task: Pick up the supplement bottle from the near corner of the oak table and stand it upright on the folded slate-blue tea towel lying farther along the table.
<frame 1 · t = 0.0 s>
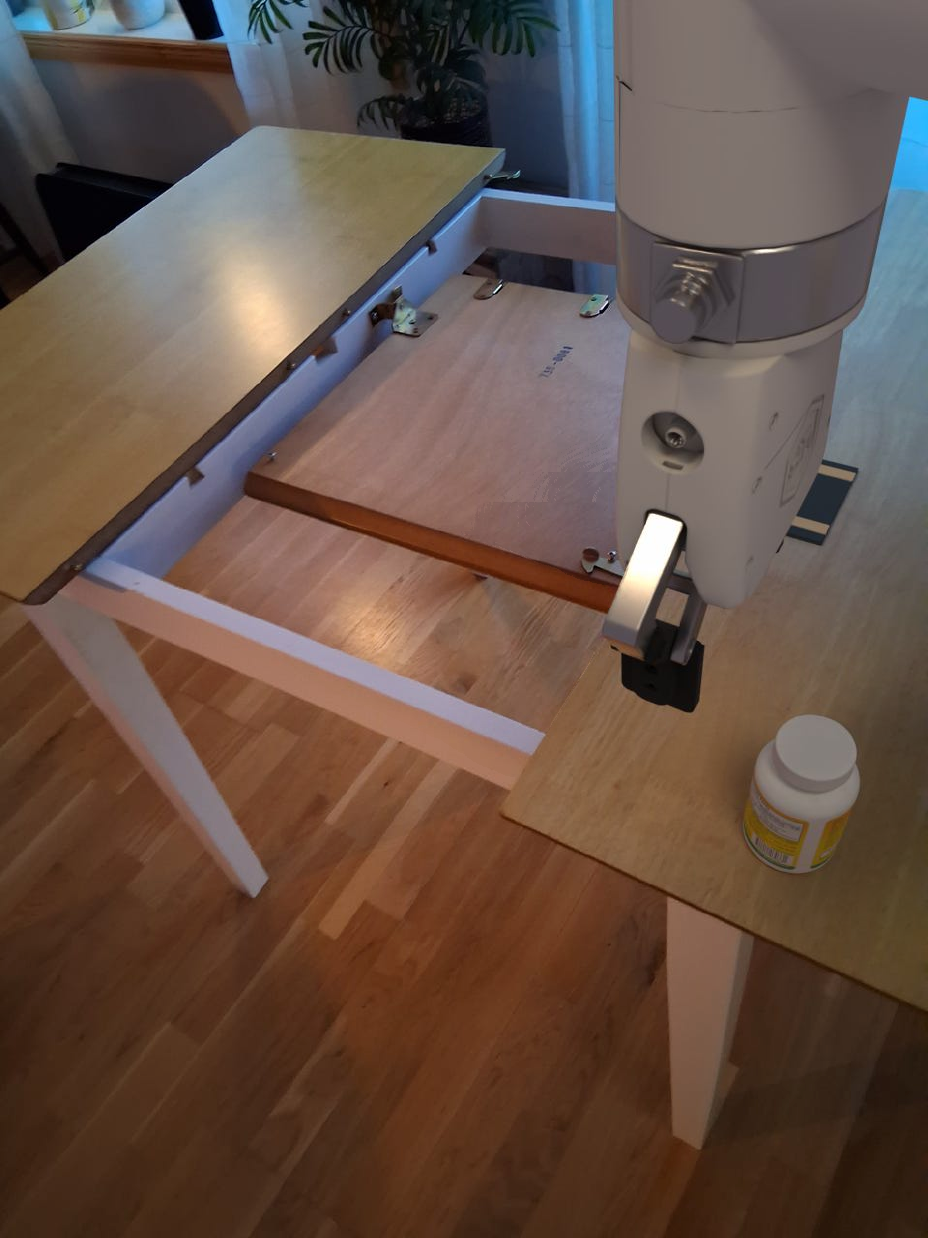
hand: (705, 614, 41), 20 cm above the table, tool pointing down, fingers open, 9 cm apart
supplement bottle: (789, 835, 55), on the table
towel: (801, 497, 72), on the table
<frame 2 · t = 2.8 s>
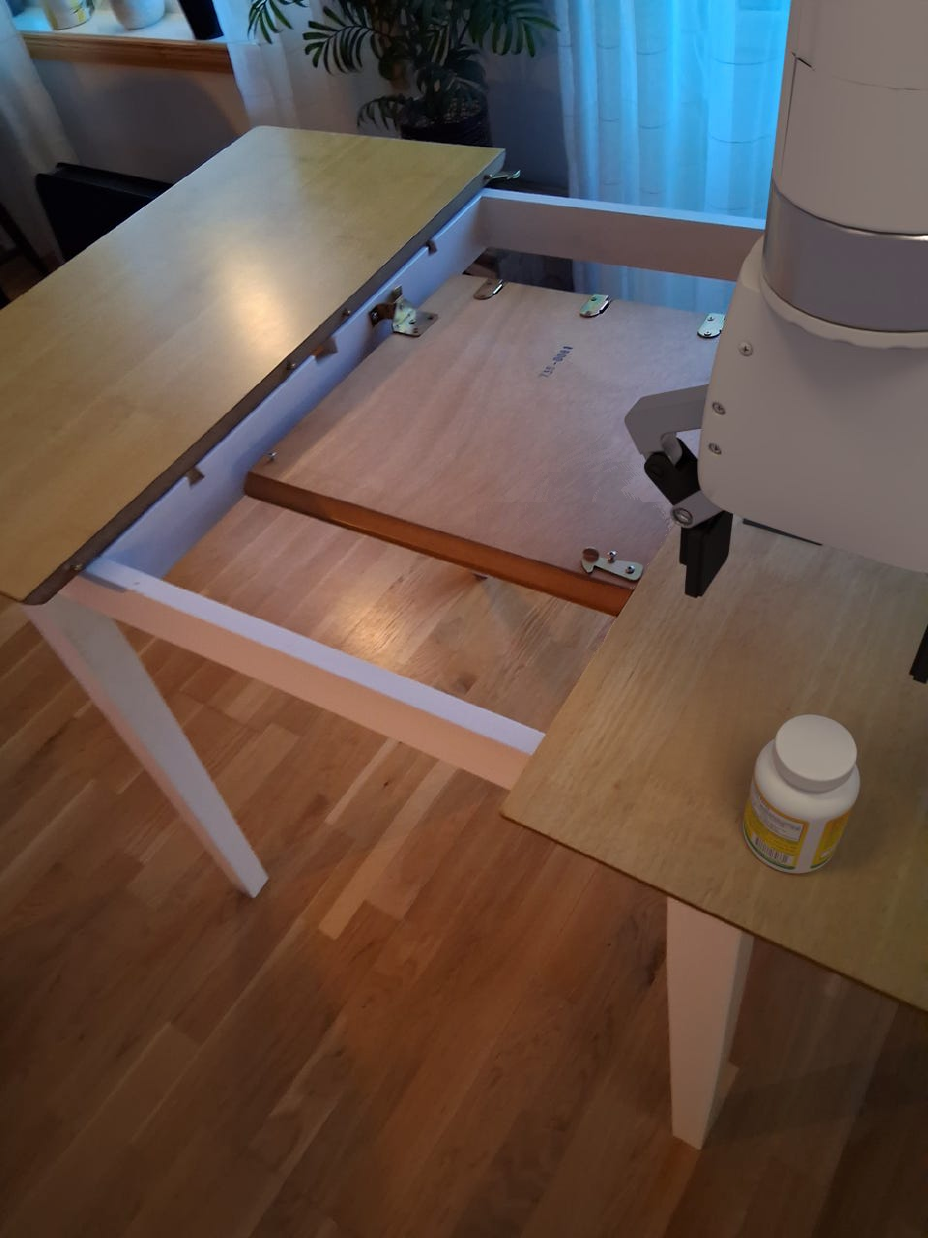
hand: (811, 614, 40), 20 cm above the table, tool pointing down, fingers open, 9 cm apart
nothing on the table moved.
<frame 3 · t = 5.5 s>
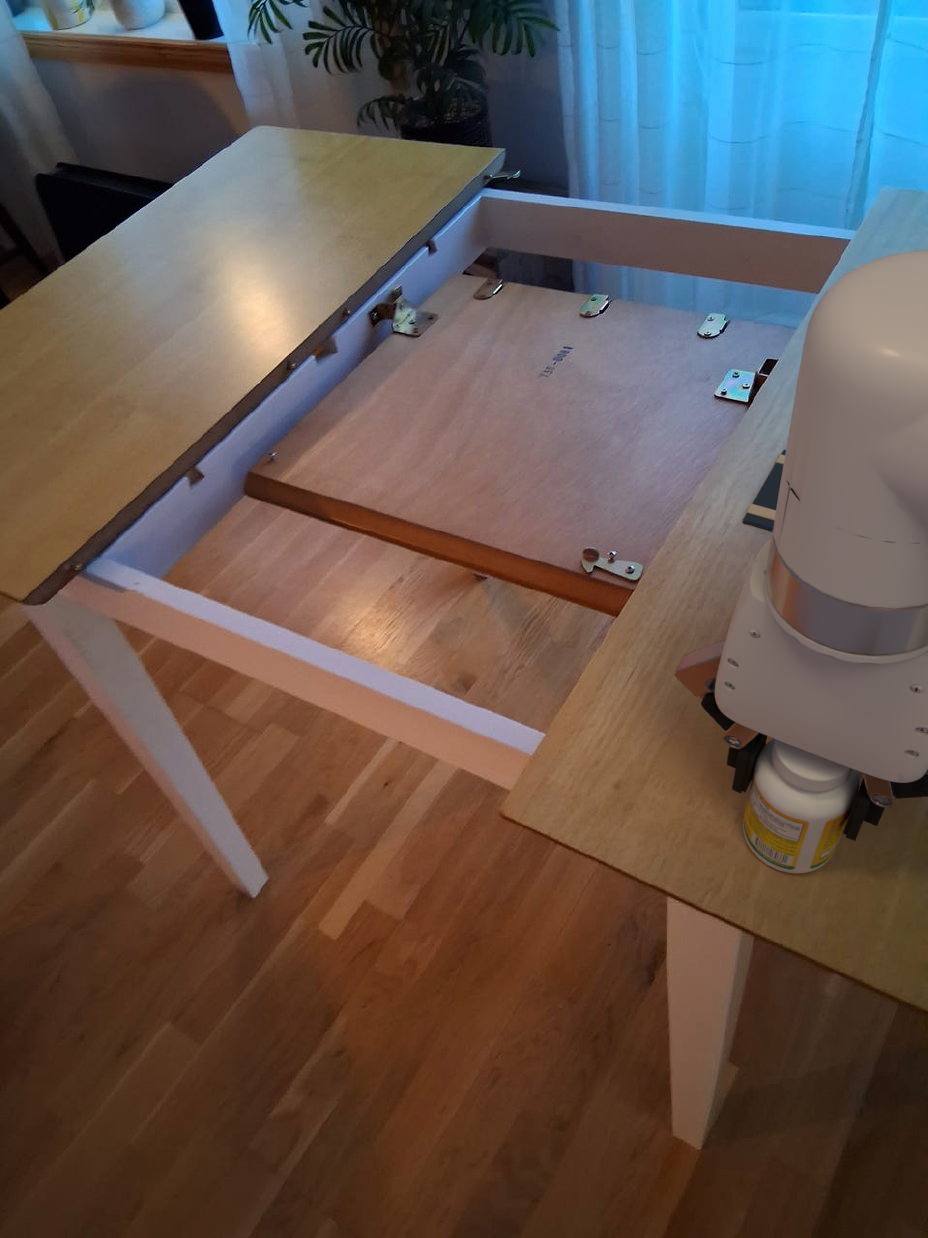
hand: (801, 792, 51), 5 cm above the table, tool pointing down, fingers closed on supplement bottle, 5 cm apart
supplement bottle: (789, 835, 55), on the table, touching gripper
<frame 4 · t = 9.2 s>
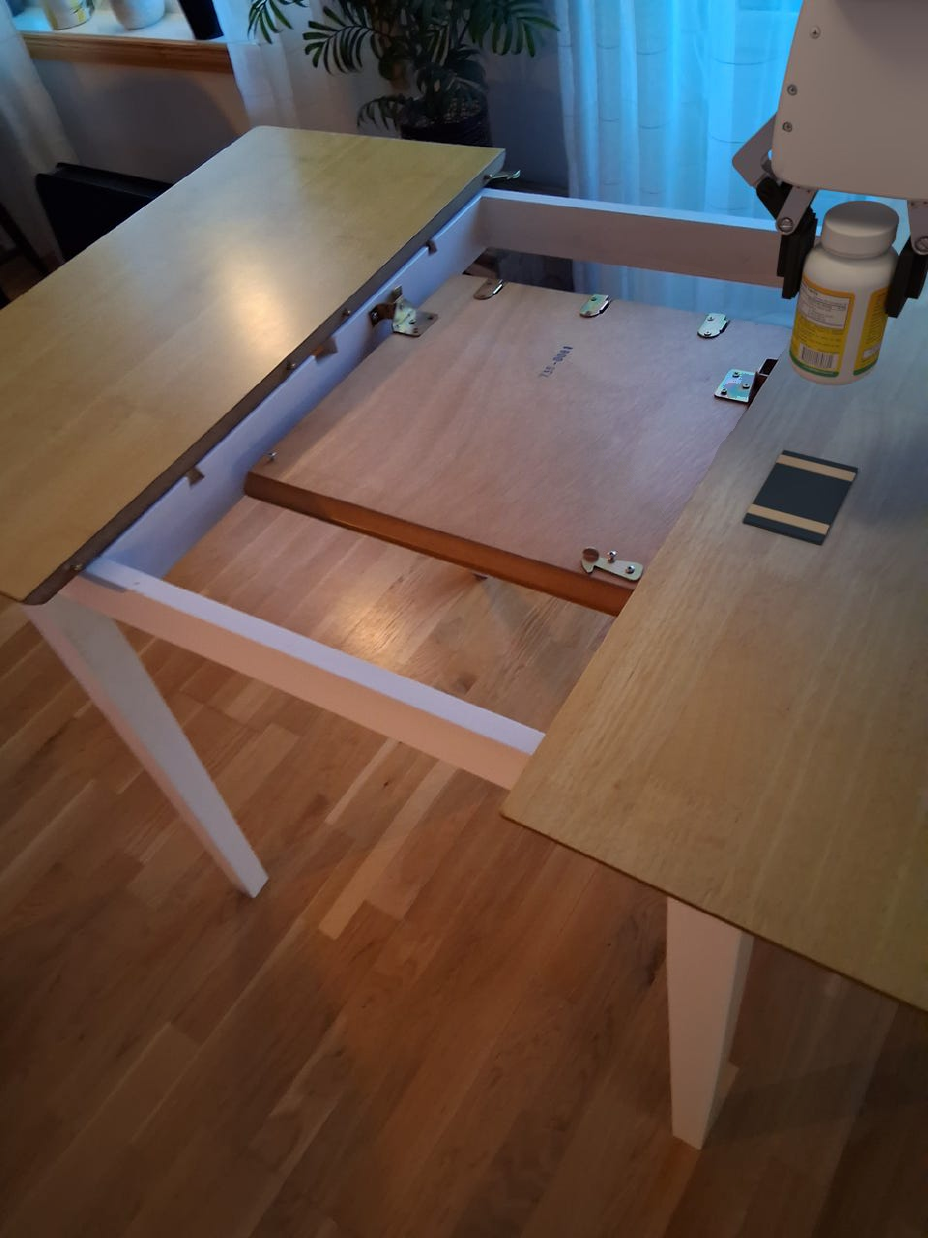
hand: (845, 293, 55), 20 cm above the table, tool pointing down, fingers closed on supplement bottle, 5 cm apart
supplement bottle: (831, 365, 59), point 15 cm above the table, touching gripper
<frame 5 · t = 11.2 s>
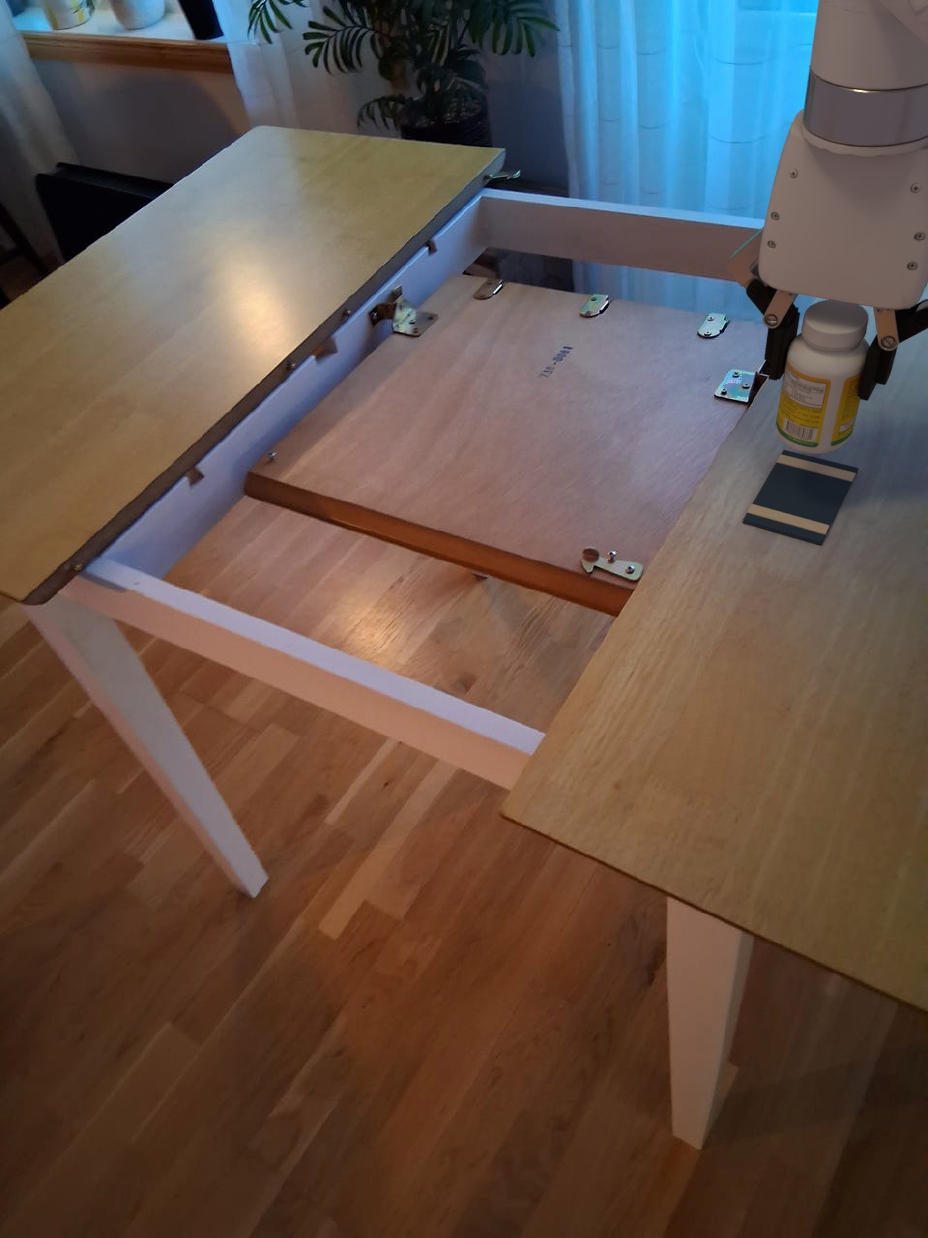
hand: (824, 376, 64), 11 cm above the table, tool pointing down, fingers closed on supplement bottle, 5 cm apart
supplement bottle: (812, 434, 67), point 6 cm above the table, touching gripper
when the fingers open (5 cm above the table, at t = 13.0 s): supplement bottle stays where it is, resting on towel.
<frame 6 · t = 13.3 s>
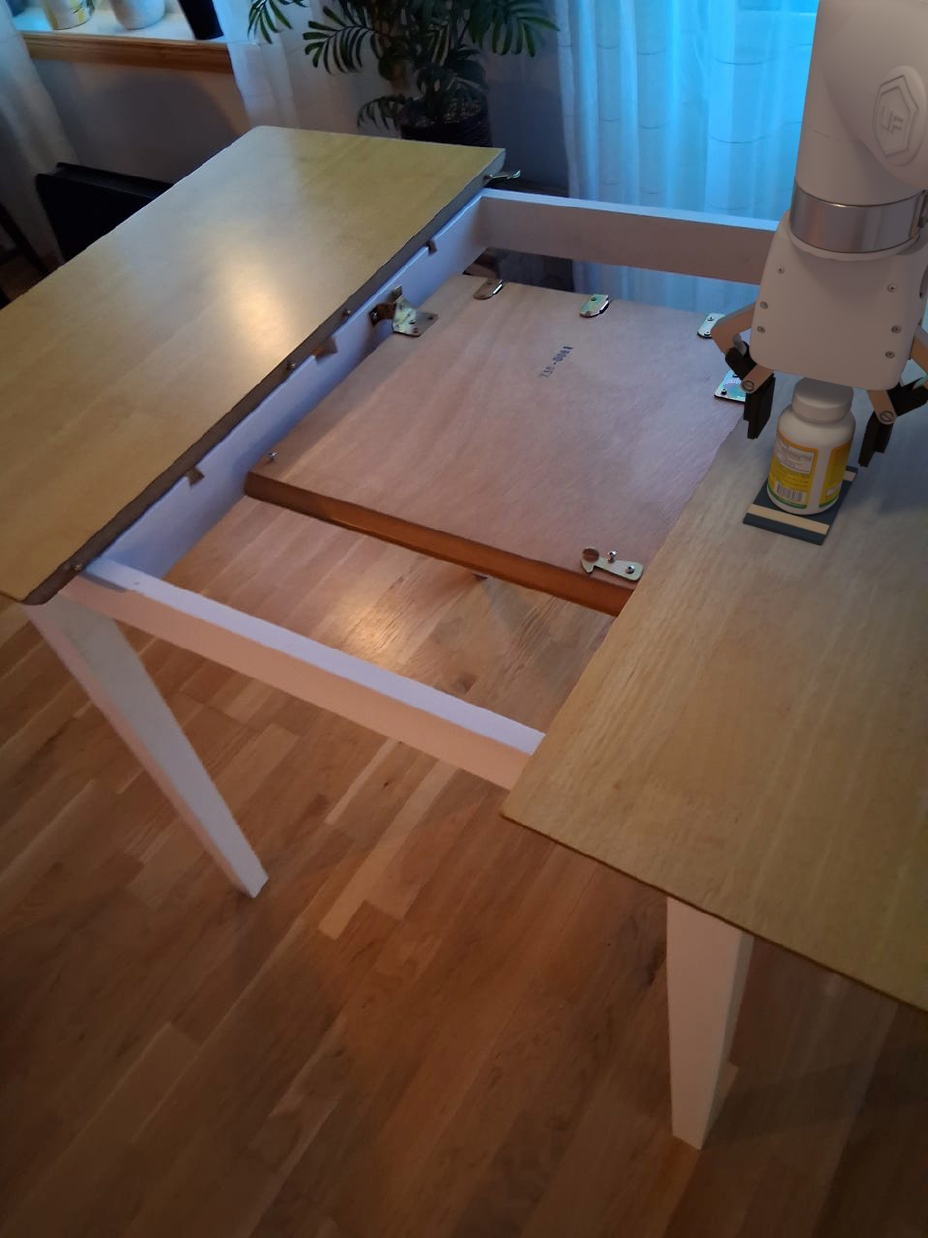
hand: (812, 440, 68), 6 cm above the table, tool pointing down, fingers open, 7 cm apart
supplement bottle: (802, 495, 72), resting on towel
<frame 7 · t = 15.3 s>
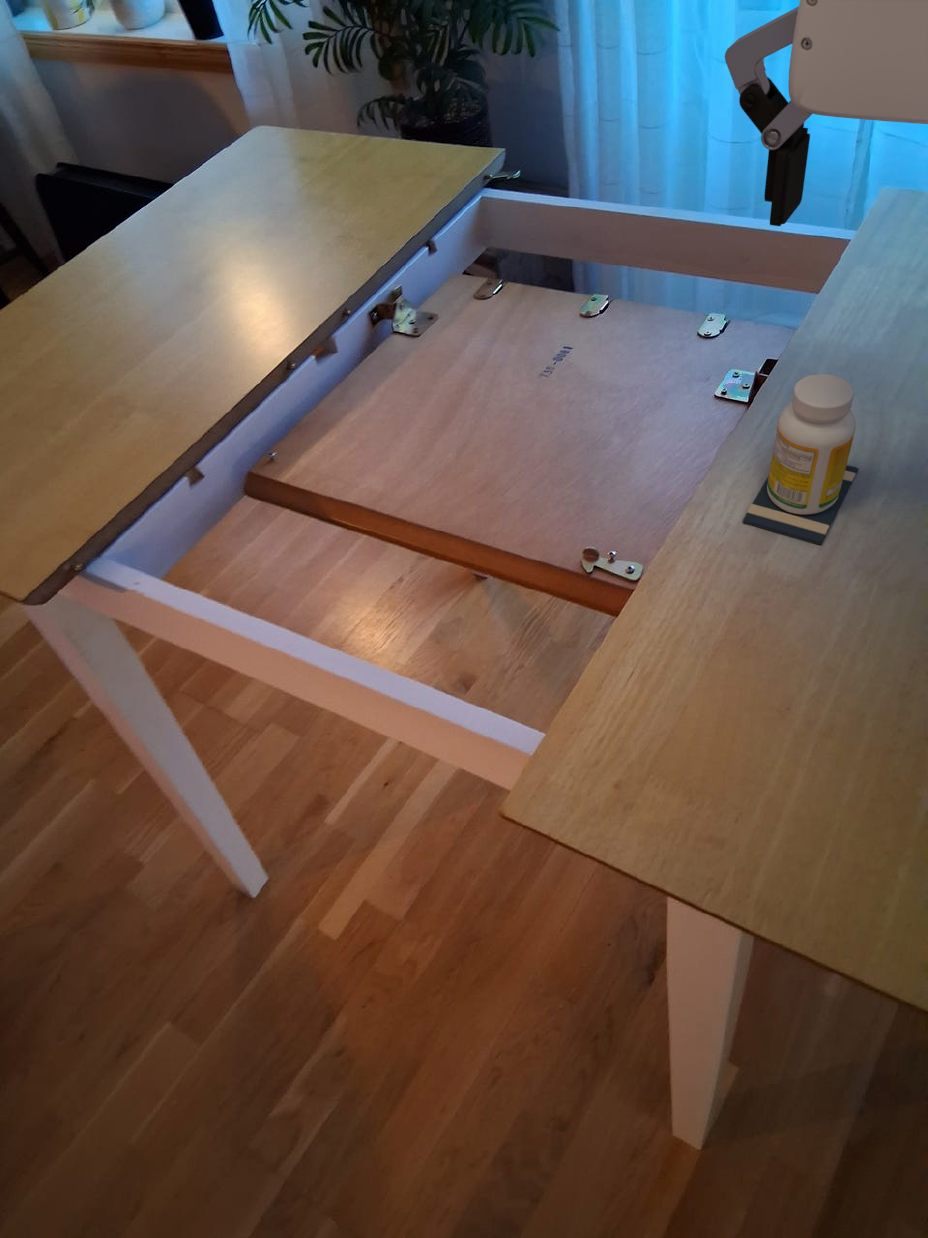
hand: (874, 226, 49), 25 cm above the table, tool pointing down, fingers open, 9 cm apart
nothing on the table moved.
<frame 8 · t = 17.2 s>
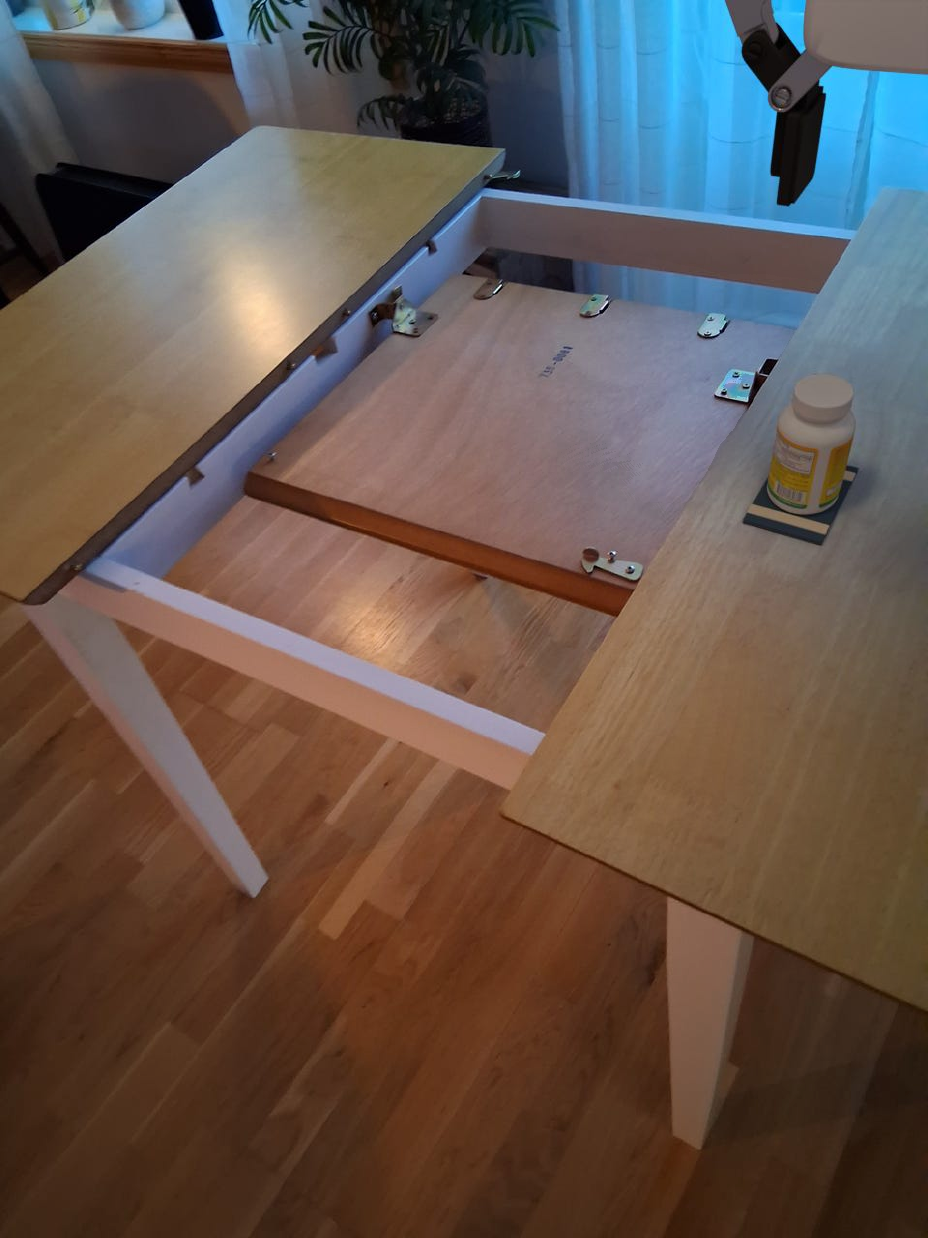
hand: (904, 206, 41), 30 cm above the table, tool pointing down, fingers open, 9 cm apart
nothing on the table moved.
at the end: supplement bottle inside the target area on the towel (0.1 cm from its centre), point 0.3 cm above the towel's base; supplement bottle tilted 1°; the gripper is holding nothing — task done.
